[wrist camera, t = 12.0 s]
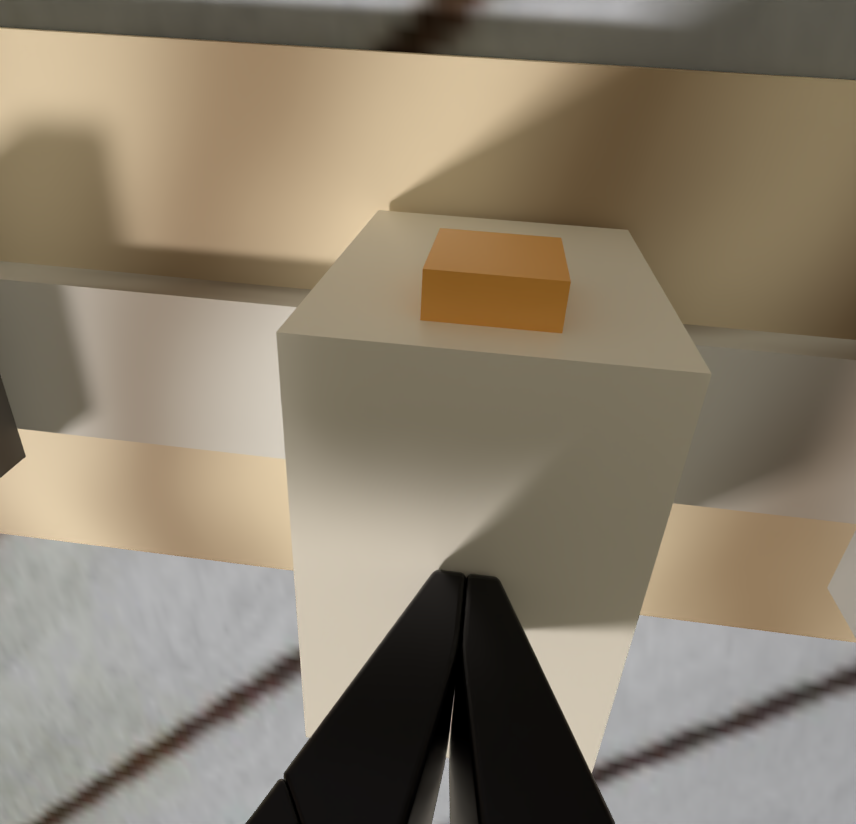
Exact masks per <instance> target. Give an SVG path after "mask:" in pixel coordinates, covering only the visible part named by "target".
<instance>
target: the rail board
mask: <svg viewBox="0 0 856 824" xmlns="http://www.w3.org/2000/svg"><path fill="white" fill-rule="evenodd" d="M378 210H383V211H396V212H408V213H421V214H434V215H446V216H459V217H472V218H484V219H497V220H510V221H522V222H535V223H548V224H560V225H573V226H586V227H598V228H611V229H624V230H628V231H629V232H630V234H631V236H632V238H633V239H634V241H635V243H636V245H637V246H638V248H639V250H640V251H641V253H642V255H643V257H644V258H645V260H646V262H647V263H648V265H649V267H650V269H651V270H652V272H653V274H654V275H655V277H656V279H657V281H658V282H659V284H660V286H661V287H662V289H663V291H664V293H665V294H666V296H667V298H668V299H669V301H670V303H671V305H672V306H673V308H674V310H675V311H676V313H677V315H678V317H679V318H680V320H681V322H682V323H683V325H684V327H685V329H686V330H687V332H688V334H689V335H690V337H691V339H692V341H693V342H694V344H695V346H696V348H697V349H698V351H699V353H700V354H701V356H702V358H703V360H704V361H705V363H706V365H707V366H708V368H709V370H710V372H711V373H712V375H711V379H710V382H709V385H708V388H707V392H706V395H705V398H704V402H703V405H702V408H701V412H700V415H699V418H698V422H697V425H696V428H695V432H694V435H693V438H692V442H691V445H690V448H689V452H688V455H687V458H686V462H685V465H684V468H683V472H682V475H681V478H680V482H679V485H678V488H677V492H676V495H675V498H674V502H673V505H672V508H671V512H670V515H669V518H668V522H667V525H666V528H665V532H664V535H663V538H662V541H661V545H660V548H659V551H658V555H657V558H656V561H655V565H654V568H653V571H652V575H651V578H650V581H649V585H648V588H647V591H646V595H645V598H644V601H643V605H642V608H641V611H640V615H645V616H653V617H661V618H669V619H676V620H684V621H692V622H700V623H708V624H716V625H723V626H731V627H739V628H747V629H755V630H763V631H770V632H778V633H786V634H794V635H802V636H810V637H817V638H825V639H833V640H841V641H849V642H856V80H846V79H829V78H813V77H797V76H781V75H765V74H749V73H732V72H716V71H700V70H684V69H668V68H652V67H636V66H619V65H603V64H587V63H571V62H555V61H539V60H523V59H506V58H490V57H474V56H458V55H442V54H426V53H410V52H393V51H377V50H361V49H345V48H329V47H313V46H296V45H280V44H264V43H248V42H232V41H216V40H200V39H183V38H167V37H151V36H135V35H119V34H103V33H87V32H70V31H54V30H38V29H22V28H6V27H0V533H3V534H11V535H18V536H26V537H34V538H42V539H50V540H58V541H65V542H73V543H81V544H89V545H97V546H105V547H112V548H120V549H128V550H136V551H144V552H152V553H159V554H167V555H175V556H183V557H191V558H199V559H206V560H214V561H222V562H230V563H238V564H246V565H253V566H261V567H269V568H277V569H285V570H293V571H294V568H293V554H292V541H291V527H290V513H289V500H288V486H287V473H286V459H285V446H284V432H283V419H282V405H281V391H280V378H279V364H278V351H277V337H276V332H277V331H278V329H279V328H280V327H281V326H282V325H283V323H284V322H285V321H286V320H287V319H288V317H289V316H290V315H291V314H292V313H293V312H294V310H295V309H296V308H297V307H298V306H299V304H300V303H301V302H302V301H303V300H304V298H305V297H306V296H307V295H308V294H309V292H310V291H311V290H312V289H313V288H314V286H315V285H316V284H317V283H318V282H319V280H320V279H321V278H322V277H323V276H324V275H325V273H326V272H327V271H328V270H329V269H330V267H331V266H332V265H333V264H334V263H335V261H336V260H337V259H338V258H339V257H340V255H341V254H342V253H343V252H344V251H345V249H346V248H347V247H348V246H349V245H350V244H351V242H352V241H353V240H354V239H355V238H356V236H357V235H358V234H359V233H360V232H361V230H362V229H363V228H364V227H365V226H366V224H367V223H368V222H369V221H370V220H371V218H372V217H373V216H374V215H375V214H376V212H377V211H378Z"/></svg>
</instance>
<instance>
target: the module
mask: <svg viewBox="0 0 856 824" xmlns="http://www.w3.org/2000/svg"><path fill="white" fill-rule="evenodd" d="M276 337H277V351H278V364H279V378H280V391H281V405H282V419H283V432H284V446H285V459H286V473H287V486H288V500H289V513H290V527H291V541H292V554H293V568H294V581H295V595H296V608H297V622H298V635H299V649H300V663H301V676H302V690H303V703H304V717H305V730H306V737H311V736H312V734H313V733H314V732H315V730H316V729H317V728H318V726H319V725H320V724H321V722H322V721H323V720H324V718H325V717H326V716H327V714H328V713H329V711H330V710H331V709H332V707H333V706H334V705H335V703H336V702H337V701H338V699H339V698H340V697H341V695H342V694H343V693H344V691H345V690H346V689H347V687H348V686H349V684H350V683H351V682H352V680H353V679H354V678H355V676H356V675H357V674H358V672H359V671H360V670H361V668H362V667H363V666H364V664H365V663H366V661H367V660H368V659H369V657H370V656H371V655H372V653H373V652H374V651H375V649H376V648H377V647H378V645H379V644H380V643H381V641H382V640H383V639H384V637H385V636H386V634H387V633H388V632H389V630H390V629H391V628H392V626H393V625H394V624H395V622H396V621H397V620H398V618H399V617H400V616H401V614H402V613H403V612H404V610H405V609H406V607H407V606H408V605H409V603H410V602H411V601H412V599H413V598H414V597H415V595H416V594H417V593H418V591H419V590H420V589H421V587H422V586H423V584H424V583H425V582H426V580H427V579H428V578H429V576H430V575H431V574H432V573H433V572H434V571H436V570H446V571H455V572H461V573H463V574H464V575H465V577H466V578H467V576H468V575H470V574H479V575H487V576H494V577H497V578H498V579H499V580H500V581H501V583H502V585H503V587H504V589H505V592H506V594H507V596H508V598H509V600H510V602H511V604H512V606H513V608H514V611H515V613H516V615H517V617H518V619H519V621H520V623H521V625H522V627H523V630H524V632H525V634H526V636H527V638H528V640H529V642H530V644H531V646H532V649H533V651H534V653H535V655H536V657H537V659H538V661H539V663H540V665H541V668H542V670H543V672H544V674H545V676H546V678H547V680H548V682H549V684H550V687H551V689H552V691H553V693H554V695H555V697H556V699H557V701H558V703H559V706H560V708H561V710H562V712H563V714H564V716H565V718H566V720H567V722H568V725H569V727H570V729H571V731H572V733H573V735H574V737H575V739H576V741H577V744H578V746H579V748H580V750H581V752H582V754H583V756H584V758H585V761H586V763H587V765H588V767H589V769H590V771H591V773H592V771H593V768H594V764H595V761H596V758H597V754H598V751H599V748H600V744H601V741H602V738H603V734H604V731H605V728H606V724H607V721H608V718H609V714H610V711H611V708H612V704H613V701H614V698H615V695H616V691H617V688H618V685H619V681H620V678H621V675H622V671H623V668H624V665H625V661H626V658H627V655H628V651H629V648H630V645H631V641H632V638H633V635H634V631H635V628H636V625H637V621H638V618H639V615H640V611H641V608H642V605H643V601H644V598H645V595H646V591H647V588H648V585H649V581H650V578H651V575H652V571H653V568H654V565H655V561H656V558H657V555H658V551H659V548H660V545H661V541H662V538H663V535H664V532H665V528H666V525H667V522H668V518H669V515H670V512H671V508H672V505H673V502H674V498H675V495H676V492H677V488H678V485H679V482H680V478H681V475H682V472H683V468H684V465H685V462H686V458H687V455H688V452H689V448H690V445H691V442H692V438H693V435H694V432H695V428H696V425H697V422H698V418H699V415H700V412H701V408H702V405H703V402H704V398H705V395H706V392H707V388H708V385H709V382H710V379H711V375H712V373H711V372H710V370H709V368H708V366H707V365H706V363H705V361H704V360H703V358H702V356H701V354H700V353H699V351H698V349H697V348H696V346H695V344H694V342H693V341H692V339H691V337H690V335H689V334H688V332H687V330H686V329H685V327H684V325H683V323H682V322H681V320H680V318H679V317H678V315H677V313H676V311H675V310H674V308H673V306H672V305H671V303H670V301H669V299H668V298H667V296H666V294H665V293H664V291H663V289H662V287H661V286H660V284H659V282H658V281H657V279H656V277H655V275H654V274H653V272H652V270H651V269H650V267H649V265H648V263H647V262H646V260H645V258H644V257H643V255H642V253H641V251H640V250H639V248H638V246H637V245H636V243H635V241H634V239H633V238H632V236H631V234H630V232H629V231H628V230H624V229H611V228H598V227H586V226H573V225H560V224H548V223H535V222H522V221H510V220H497V219H484V218H472V217H459V216H446V215H434V214H421V213H408V212H396V211H383V210H378V211H377V212H376V214H375V215H374V216H373V217H372V218H371V220H370V221H369V222H368V223H367V224H366V226H365V227H364V228H363V229H362V230H361V232H360V233H359V234H358V235H357V236H356V238H355V239H354V240H353V241H352V242H351V244H350V245H349V246H348V247H347V248H346V249H345V251H344V252H343V253H342V254H341V255H340V257H339V258H338V259H337V260H336V261H335V263H334V264H333V265H332V266H331V267H330V269H329V270H328V271H327V272H326V273H325V275H324V276H323V277H322V278H321V279H320V280H319V282H318V283H317V284H316V285H315V286H314V288H313V289H312V290H311V291H310V292H309V294H308V295H307V296H306V297H305V298H304V300H303V301H302V302H301V303H300V304H299V306H298V307H297V308H296V309H295V310H294V312H293V313H292V314H291V315H290V316H289V317H288V319H287V320H286V321H285V322H284V323H283V325H282V326H281V327H280V328H279V329H278V331H277V332H276ZM465 585H466V583H465ZM464 594H465V593H464ZM453 701H454V700H453ZM452 711H453V708H452ZM451 721H452V717H451ZM450 731H451V726H450ZM449 746H450V734H449V742H448V749H447V755H446V758H449Z"/></svg>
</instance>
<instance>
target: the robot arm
mask: <svg viewBox="0 0 856 824" xmlns="http://www.w3.org/2000/svg"><path fill="white" fill-rule="evenodd" d="M465 583H466V585H465ZM464 593H465V594H464ZM453 700H454V701H453ZM452 708H453V711H452ZM451 717H452V721H451ZM450 726H451V731H450ZM449 734H450V746H449V796H450V824H615V822H614V820H613V818H612V815H611V813H610V811H609V809H608V807H607V805H606V803H605V801H604V799H603V796H602V794H601V792H600V790H599V788H598V786H597V784H596V782H595V780H594V777H593V775H592V773H591V771H590V769H589V767H588V765H587V763H586V761H585V758H584V756H583V754H582V752H581V750H580V748H579V746H578V744H577V741H576V739H575V737H574V735H573V733H572V731H571V729H570V727H569V725H568V722H567V720H566V718H565V716H564V714H563V712H562V710H561V708H560V706H559V703H558V701H557V699H556V697H555V695H554V693H553V691H552V689H551V687H550V684H549V682H548V680H547V678H546V676H545V674H544V672H543V670H542V668H541V665H540V663H539V661H538V659H537V657H536V655H535V653H534V651H533V649H532V646H531V644H530V642H529V640H528V638H527V636H526V634H525V632H524V630H523V627H522V625H521V623H520V621H519V619H518V617H517V615H516V613H515V611H514V608H513V606H512V604H511V602H510V600H509V598H508V596H507V594H506V592H505V589H504V587H503V585H502V583H501V581H500V580H499V579H498V578H497V577H494V576H487V575H479V574H470V575H468V576H467V578H466V577H465V575H464V574H463V573H461V572H455V571H446V570H436V571H434V572H433V573H432V574H431V575H430V576H429V578H428V579H427V580H426V582H425V583H424V584H423V586H422V587H421V589H420V590H419V591H418V593H417V594H416V595H415V597H414V598H413V599H412V601H411V602H410V603H409V605H408V606H407V607H406V609H405V610H404V612H403V613H402V614H401V616H400V617H399V618H398V620H397V621H396V622H395V624H394V625H393V626H392V628H391V629H390V630H389V632H388V633H387V634H386V636H385V637H384V639H383V640H382V641H381V643H380V644H379V645H378V647H377V648H376V649H375V651H374V652H373V653H372V655H371V656H370V657H369V659H368V660H367V661H366V663H365V664H364V666H363V667H362V668H361V670H360V671H359V672H358V674H357V675H356V676H355V678H354V679H353V680H352V682H351V683H350V684H349V686H348V687H347V689H346V690H345V691H344V693H343V694H342V695H341V697H340V698H339V699H338V701H337V702H336V703H335V705H334V706H333V707H332V709H331V710H330V711H329V713H328V714H327V716H326V717H325V718H324V720H323V721H322V722H321V724H320V725H319V726H318V728H317V729H316V730H315V732H314V733H313V734H312V736H311V737H310V738H309V740H308V741H307V743H306V744H305V745H304V747H303V748H302V749H301V751H300V752H299V753H298V755H297V756H296V757H295V759H294V760H293V761H292V763H291V764H290V766H289V767H288V768H287V770H286V771H285V772H284V779H279V780H278V781H277V783H276V784H275V785H274V787H273V788H272V789H271V791H270V792H269V793H268V795H267V796H266V797H265V799H264V800H263V801H262V803H261V804H260V805H259V807H258V808H257V810H256V811H255V812H254V813H253V815H252V816H251V817H250V818H249V820H248V821H247V822H246V824H432V820H433V815H434V811H435V806H436V802H437V797H438V793H439V788H440V784H441V779H442V775H443V770H444V765H445V760H446V755H447V749H448V742H449Z"/></svg>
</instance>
